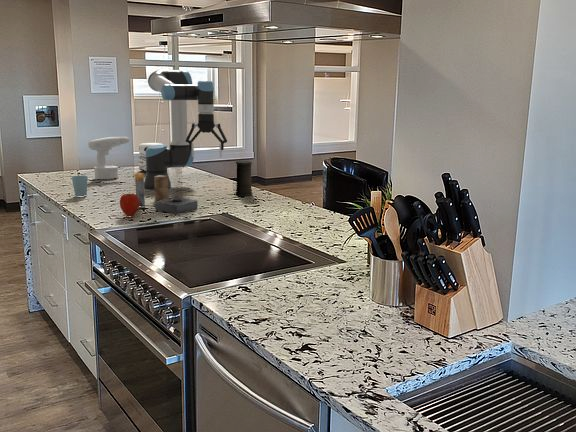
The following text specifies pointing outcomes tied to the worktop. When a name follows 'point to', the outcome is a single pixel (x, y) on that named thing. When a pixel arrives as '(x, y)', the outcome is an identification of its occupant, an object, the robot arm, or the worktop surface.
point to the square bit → (161, 187)
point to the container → (244, 178)
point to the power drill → (102, 150)
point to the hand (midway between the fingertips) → (206, 156)
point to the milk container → (142, 154)
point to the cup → (80, 185)
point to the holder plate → (176, 205)
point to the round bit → (140, 188)
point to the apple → (129, 204)
